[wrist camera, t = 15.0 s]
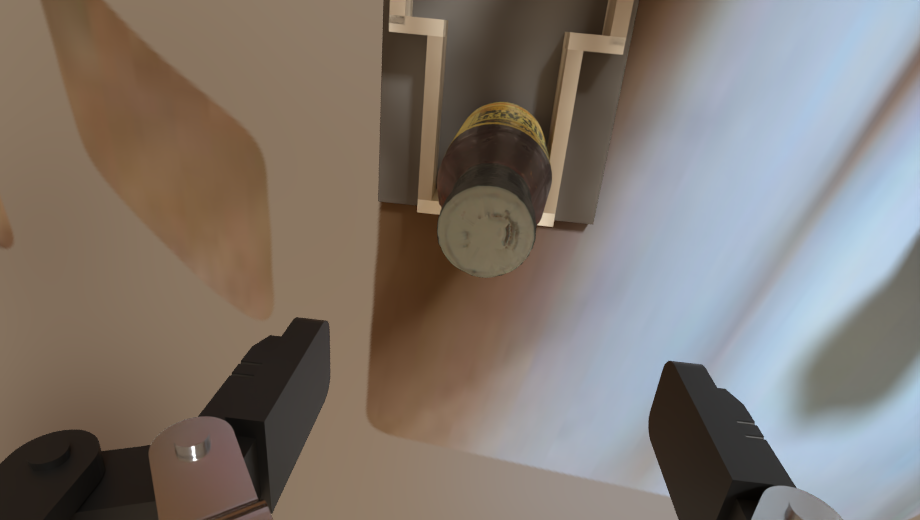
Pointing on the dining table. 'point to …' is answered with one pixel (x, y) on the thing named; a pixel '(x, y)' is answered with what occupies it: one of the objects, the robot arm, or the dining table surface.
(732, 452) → the robot arm
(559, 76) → the keyhole board
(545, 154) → the sauce bottle
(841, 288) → the dining table surface
